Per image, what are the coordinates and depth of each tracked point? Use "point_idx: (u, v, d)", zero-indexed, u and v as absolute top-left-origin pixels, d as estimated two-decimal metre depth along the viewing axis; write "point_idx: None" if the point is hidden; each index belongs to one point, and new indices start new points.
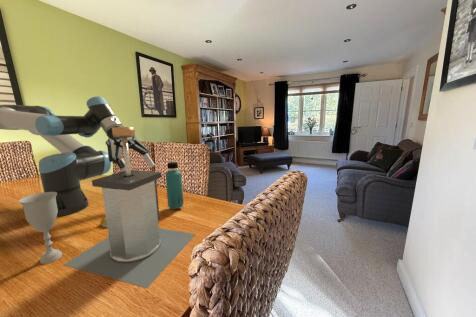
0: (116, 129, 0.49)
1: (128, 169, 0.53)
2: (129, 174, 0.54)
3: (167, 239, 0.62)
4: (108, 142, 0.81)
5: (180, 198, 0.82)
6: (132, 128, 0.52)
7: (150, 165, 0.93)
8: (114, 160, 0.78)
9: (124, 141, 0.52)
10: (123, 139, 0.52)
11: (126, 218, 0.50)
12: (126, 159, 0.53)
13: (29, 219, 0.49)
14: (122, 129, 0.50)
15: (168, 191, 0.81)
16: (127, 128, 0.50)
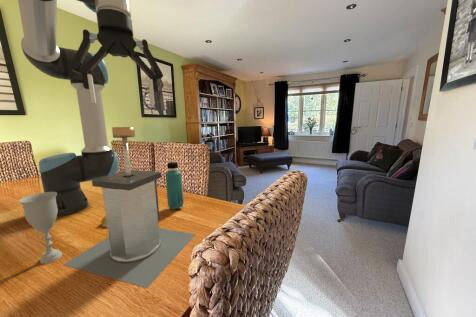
0: (116, 129, 0.49)
1: (128, 169, 0.53)
2: (129, 174, 0.54)
3: (167, 239, 0.62)
4: None
5: (180, 198, 0.82)
6: (132, 128, 0.52)
7: (150, 101, 0.57)
8: (77, 72, 0.47)
9: (124, 141, 0.52)
10: (123, 139, 0.52)
11: (126, 218, 0.50)
12: (126, 159, 0.53)
13: (29, 219, 0.49)
14: (122, 129, 0.50)
15: (168, 191, 0.81)
16: (127, 128, 0.50)
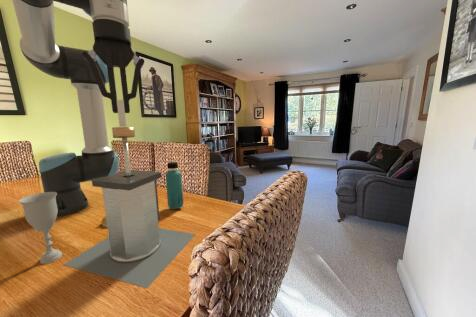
0: (116, 129, 0.49)
1: (128, 169, 0.53)
2: (129, 174, 0.54)
3: (167, 239, 0.62)
4: (86, 60, 0.46)
5: (180, 198, 0.82)
6: (132, 128, 0.52)
7: None
8: (107, 97, 0.49)
9: (124, 141, 0.52)
10: (123, 139, 0.52)
11: (126, 218, 0.50)
12: (126, 159, 0.53)
13: (29, 219, 0.49)
14: (122, 129, 0.50)
15: (168, 191, 0.81)
16: (127, 128, 0.50)
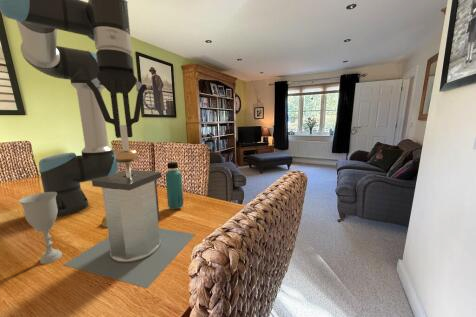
0: (119, 154, 0.51)
1: None
2: None
3: (167, 239, 0.62)
4: (90, 88, 0.47)
5: (180, 198, 0.82)
6: (135, 152, 0.53)
7: None
8: None
9: (126, 165, 0.53)
10: (126, 163, 0.53)
11: (126, 218, 0.50)
12: None
13: (29, 219, 0.49)
14: (125, 154, 0.51)
15: (168, 191, 0.81)
16: (130, 153, 0.51)
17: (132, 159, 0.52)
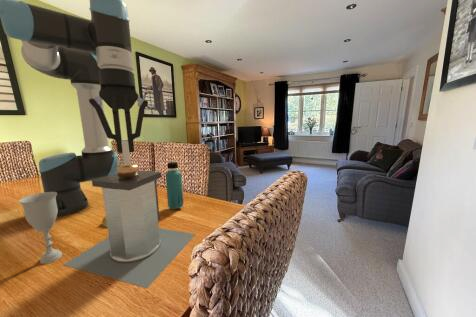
0: (121, 169, 0.51)
1: None
2: None
3: (167, 239, 0.62)
4: (93, 105, 0.48)
5: (180, 198, 0.82)
6: (136, 166, 0.53)
7: None
8: (112, 138, 0.51)
9: None
10: None
11: (126, 218, 0.50)
12: None
13: (29, 219, 0.49)
14: (127, 169, 0.51)
15: (168, 191, 0.81)
16: (131, 167, 0.52)
17: (134, 174, 0.53)
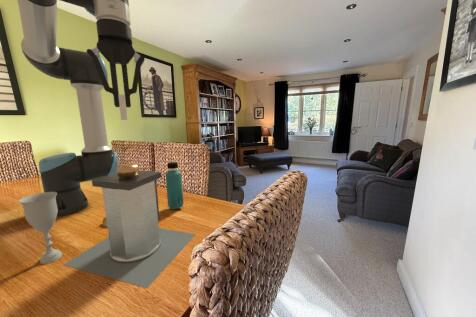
0: (121, 169, 0.51)
1: None
2: None
3: (167, 239, 0.62)
4: (90, 57, 0.49)
5: (180, 198, 0.82)
6: (136, 166, 0.53)
7: None
8: (109, 92, 0.52)
9: None
10: None
11: (126, 218, 0.50)
12: None
13: (29, 219, 0.49)
14: (127, 169, 0.51)
15: (168, 191, 0.81)
16: (131, 167, 0.52)
17: (134, 174, 0.53)
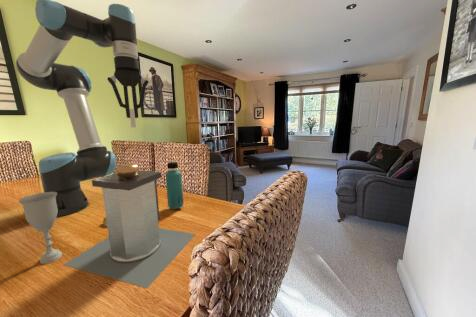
0: (121, 169, 0.51)
1: None
2: None
3: (167, 239, 0.62)
4: (109, 82, 0.68)
5: (180, 198, 0.82)
6: (136, 166, 0.53)
7: None
8: (123, 107, 0.71)
9: None
10: None
11: (126, 218, 0.50)
12: None
13: (29, 219, 0.49)
14: (127, 169, 0.51)
15: (168, 191, 0.81)
16: (131, 167, 0.52)
17: (134, 174, 0.53)
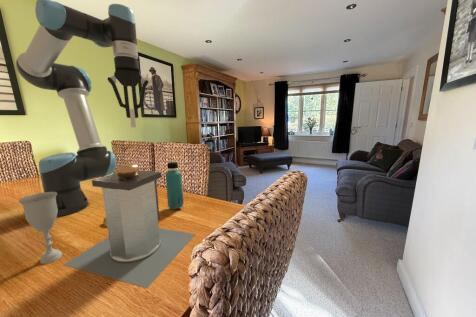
0: (121, 169, 0.51)
1: None
2: None
3: (167, 239, 0.62)
4: (109, 82, 0.68)
5: (180, 198, 0.82)
6: (136, 166, 0.53)
7: None
8: (123, 107, 0.71)
9: None
10: None
11: (126, 218, 0.50)
12: None
13: (29, 219, 0.49)
14: (127, 169, 0.51)
15: (168, 191, 0.81)
16: (131, 167, 0.52)
17: (134, 174, 0.53)
